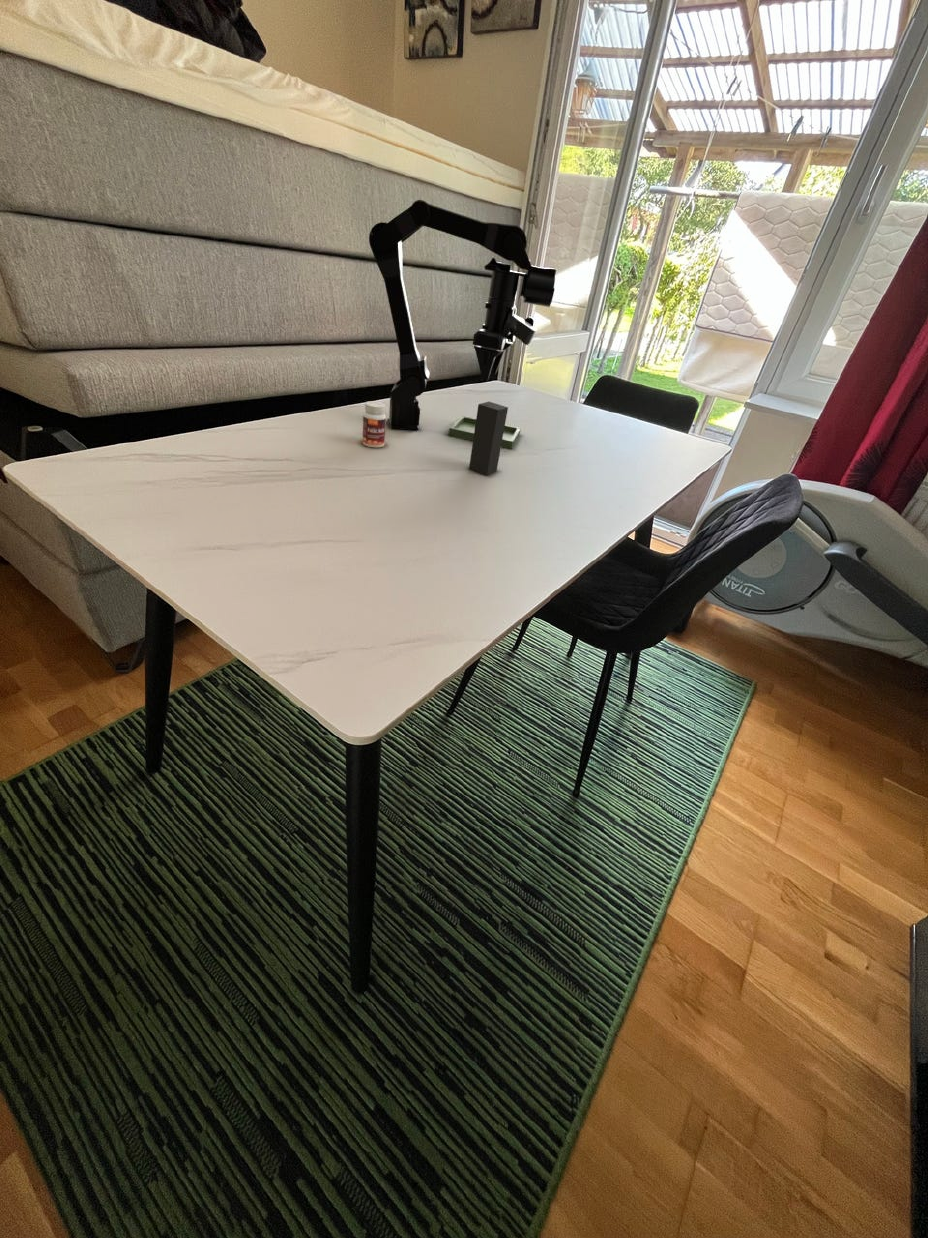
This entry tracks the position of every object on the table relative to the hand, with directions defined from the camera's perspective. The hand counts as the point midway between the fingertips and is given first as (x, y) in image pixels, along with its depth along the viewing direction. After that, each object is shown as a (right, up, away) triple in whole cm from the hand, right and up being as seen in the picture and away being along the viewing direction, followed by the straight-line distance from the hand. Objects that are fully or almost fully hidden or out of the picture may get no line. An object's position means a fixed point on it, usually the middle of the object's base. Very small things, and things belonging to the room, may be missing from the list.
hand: (489, 377), depth 118 cm
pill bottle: (-25, -18, -7) cm, 32 cm away
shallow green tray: (-1, -10, +10) cm, 14 cm away
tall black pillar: (-2, -24, -10) cm, 26 cm away
